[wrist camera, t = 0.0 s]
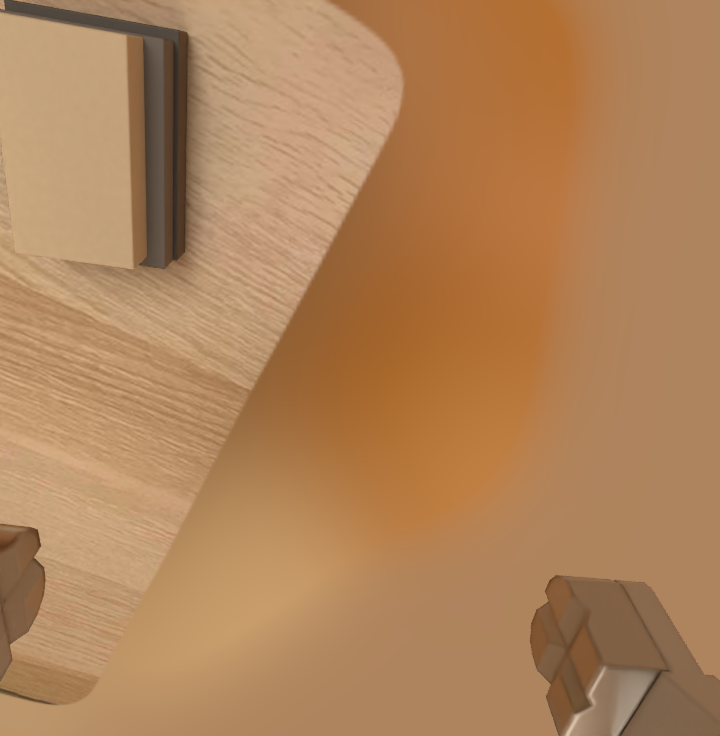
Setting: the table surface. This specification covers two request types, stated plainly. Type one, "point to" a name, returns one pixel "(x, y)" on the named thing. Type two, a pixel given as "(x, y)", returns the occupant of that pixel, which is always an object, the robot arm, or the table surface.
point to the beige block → (73, 141)
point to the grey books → (149, 122)
